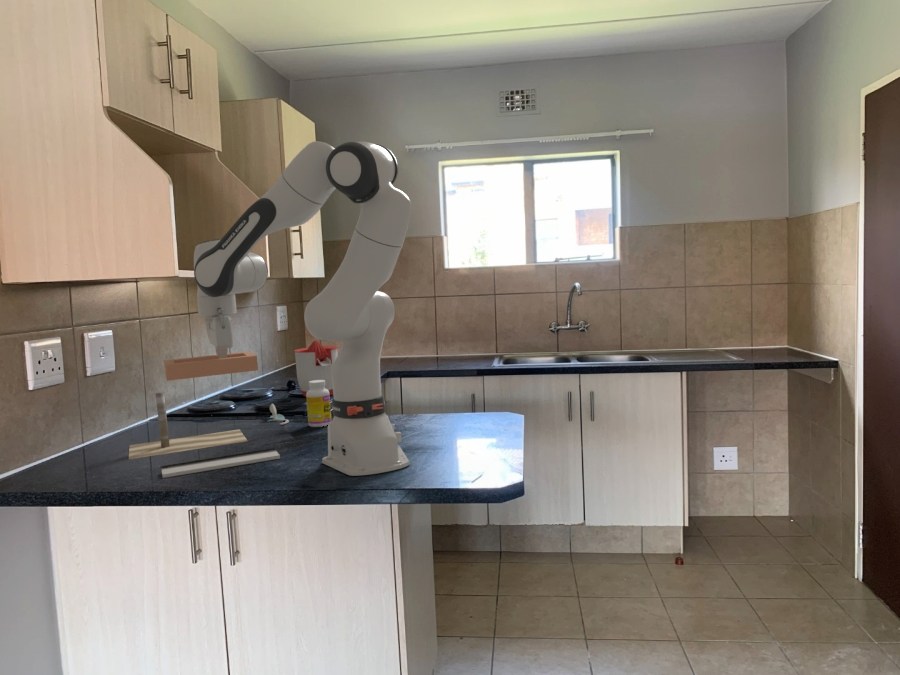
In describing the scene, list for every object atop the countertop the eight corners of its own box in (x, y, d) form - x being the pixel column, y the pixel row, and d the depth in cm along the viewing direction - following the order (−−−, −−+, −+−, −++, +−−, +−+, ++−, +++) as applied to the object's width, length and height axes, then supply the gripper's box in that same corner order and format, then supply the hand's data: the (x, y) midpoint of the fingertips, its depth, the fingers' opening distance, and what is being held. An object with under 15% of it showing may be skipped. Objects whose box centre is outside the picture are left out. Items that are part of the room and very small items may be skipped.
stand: (248, 446, 176) (242, 387, 175) (129, 465, 165) (122, 402, 163) (240, 434, 191) (235, 379, 189) (130, 450, 179) (123, 392, 178)
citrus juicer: (307, 401, 235) (302, 344, 233) (292, 395, 250) (287, 341, 248) (349, 395, 243) (345, 339, 241) (332, 389, 258) (328, 336, 256)
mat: (280, 458, 163) (279, 455, 163) (162, 477, 152) (162, 474, 152) (270, 446, 175) (269, 443, 175) (160, 463, 165) (160, 460, 165)
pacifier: (290, 421, 206) (270, 422, 206) (289, 400, 205) (269, 401, 205) (286, 426, 199) (265, 427, 198) (285, 405, 198) (264, 406, 198)
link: (258, 370, 161) (256, 355, 161) (167, 380, 153) (165, 365, 153) (251, 365, 170) (250, 351, 170) (165, 374, 162) (163, 360, 162)
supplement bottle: (326, 427, 193) (323, 382, 192) (304, 427, 194) (301, 383, 193) (335, 422, 199) (331, 378, 198) (314, 422, 201) (310, 379, 199)
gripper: (236, 307, 157) (241, 367, 158) (226, 305, 175) (231, 359, 177) (207, 310, 154) (213, 370, 156) (200, 307, 173) (205, 361, 174)
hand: (222, 364), depth 166 cm, fingers closed on link, 2 cm apart
